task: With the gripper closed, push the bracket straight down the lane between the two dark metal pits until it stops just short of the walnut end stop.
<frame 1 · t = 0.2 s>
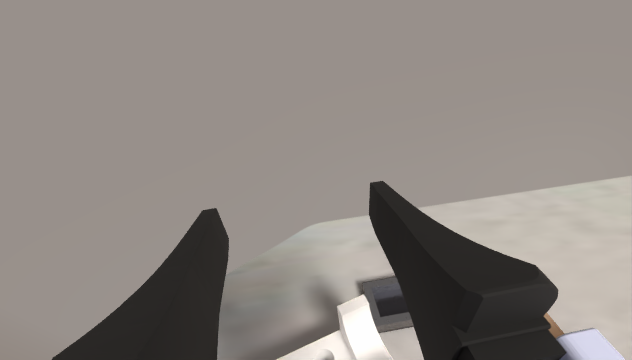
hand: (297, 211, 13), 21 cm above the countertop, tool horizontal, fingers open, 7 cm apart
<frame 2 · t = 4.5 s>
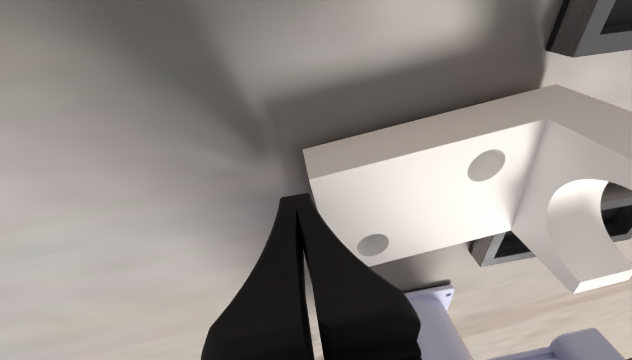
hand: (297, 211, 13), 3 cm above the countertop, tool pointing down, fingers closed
bracket: (417, 162, 17), on the countertop, touching gripper
trap pits: (607, 126, 17), on the countertop
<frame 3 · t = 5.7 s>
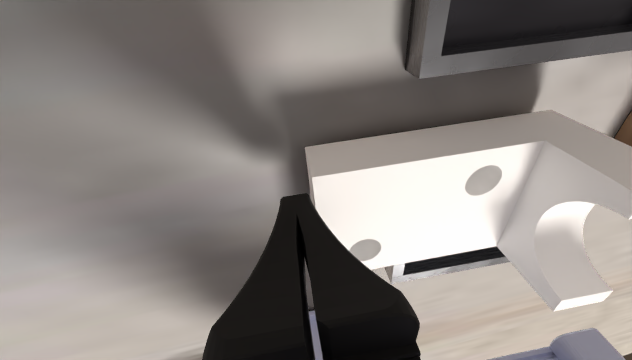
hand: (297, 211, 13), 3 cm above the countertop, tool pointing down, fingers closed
bracket: (413, 172, 17), on the countertop, touching gripper
trap pits: (498, 144, 16), on the countertop
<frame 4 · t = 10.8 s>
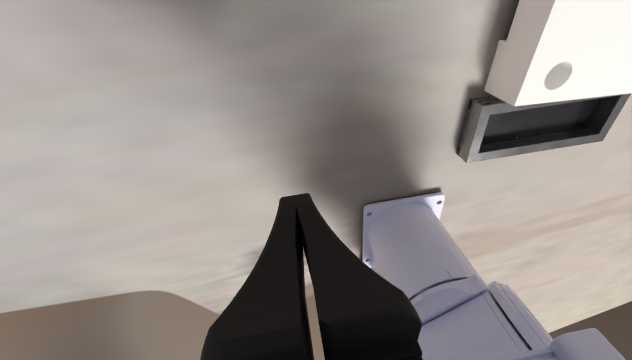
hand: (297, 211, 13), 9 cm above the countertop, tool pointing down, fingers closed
bracket: (577, 31, 20), on the countertop
trap pits: (574, 15, 19), on the countertop
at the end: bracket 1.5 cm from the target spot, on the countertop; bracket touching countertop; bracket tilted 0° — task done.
